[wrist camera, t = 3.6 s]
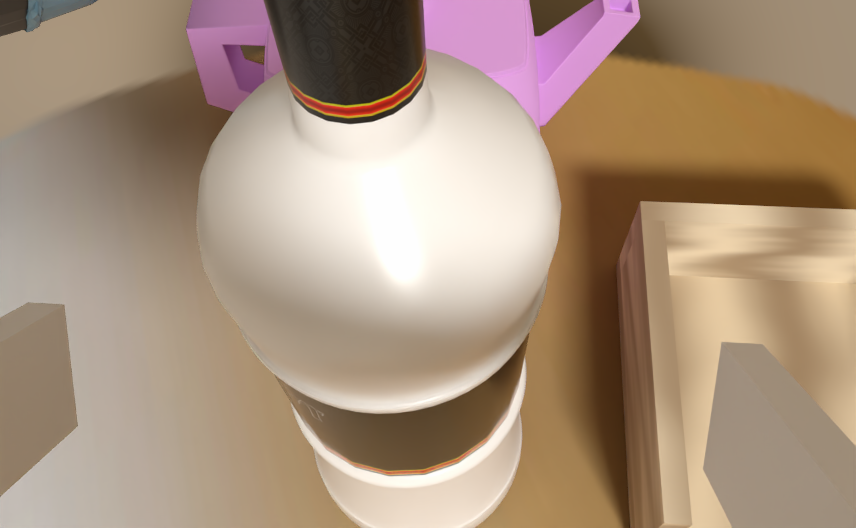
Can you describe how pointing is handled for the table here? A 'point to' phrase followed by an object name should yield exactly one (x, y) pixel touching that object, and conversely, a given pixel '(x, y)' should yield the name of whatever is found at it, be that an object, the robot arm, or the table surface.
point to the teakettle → (430, 46)
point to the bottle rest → (724, 333)
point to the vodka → (385, 257)
